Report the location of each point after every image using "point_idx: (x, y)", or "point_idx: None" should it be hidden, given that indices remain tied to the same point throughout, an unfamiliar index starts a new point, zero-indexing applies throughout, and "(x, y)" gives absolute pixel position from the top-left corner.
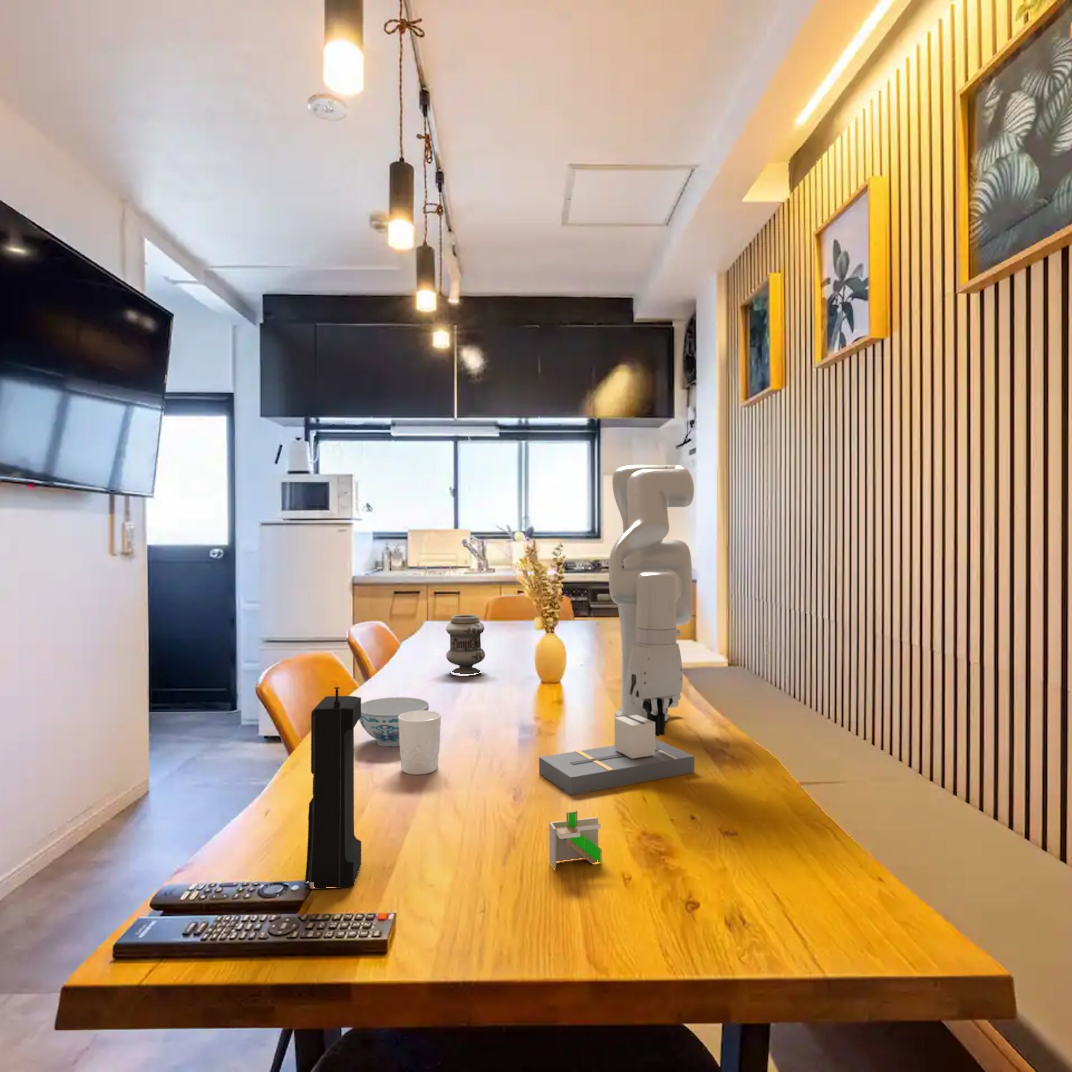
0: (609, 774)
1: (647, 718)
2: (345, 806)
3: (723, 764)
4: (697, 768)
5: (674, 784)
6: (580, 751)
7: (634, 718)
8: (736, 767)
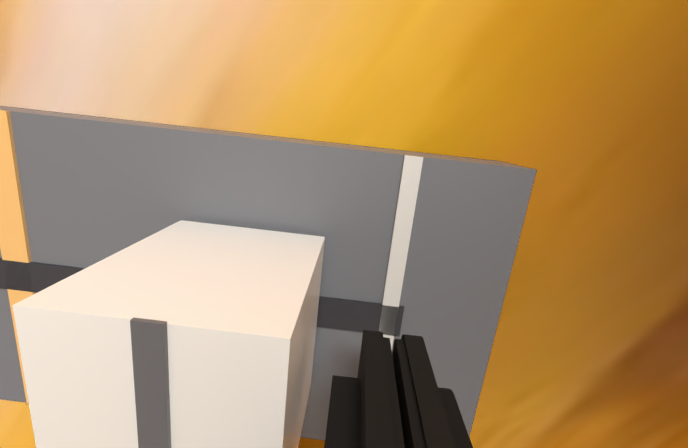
0: None
1: (326, 439)
2: None
3: (614, 402)
4: (493, 381)
5: (301, 439)
6: (2, 134)
7: (183, 422)
8: (619, 444)
